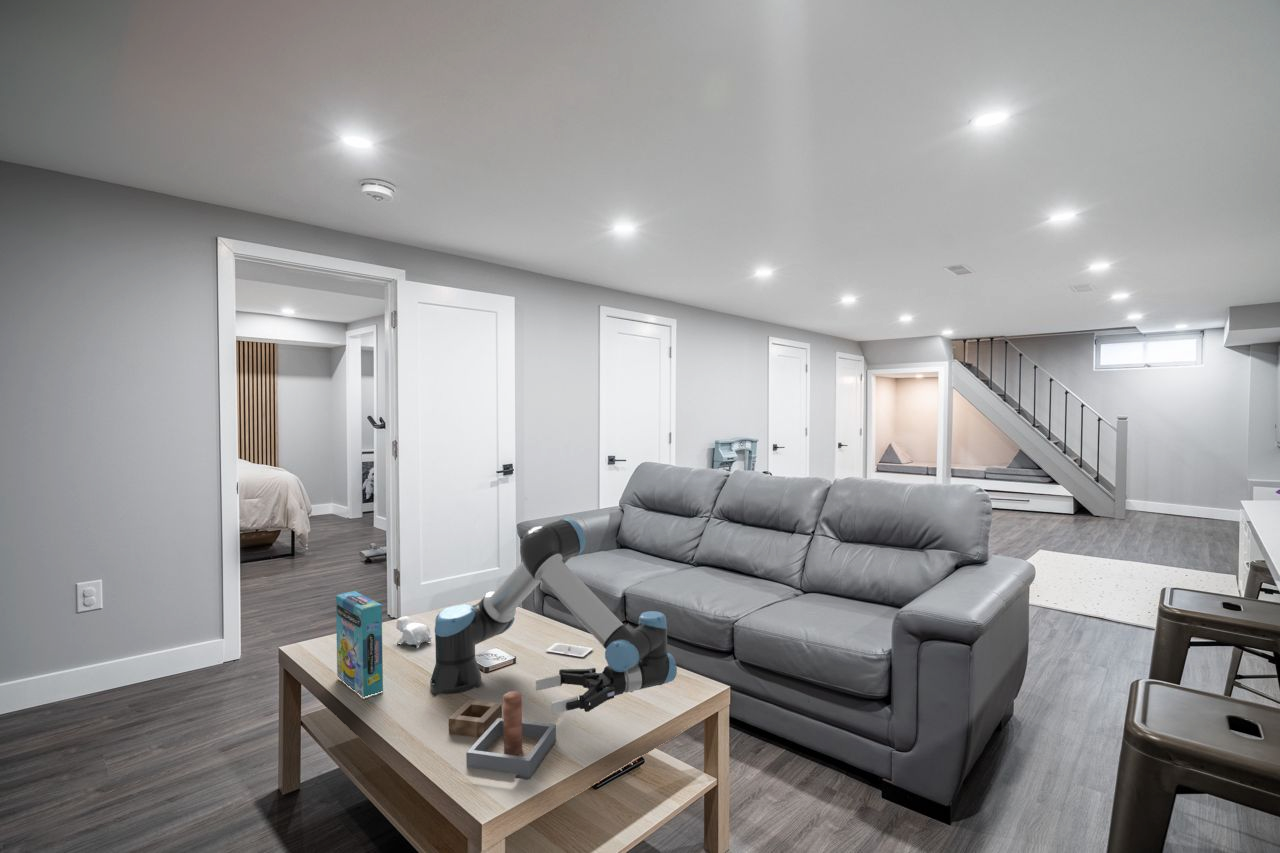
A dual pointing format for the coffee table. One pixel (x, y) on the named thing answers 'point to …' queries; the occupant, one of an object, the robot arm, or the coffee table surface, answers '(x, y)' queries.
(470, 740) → the coffee table surface
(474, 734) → the socket block
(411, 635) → the white animal figurine
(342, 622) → the game box
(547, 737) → the tray
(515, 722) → the dowel
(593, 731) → the coffee table surface
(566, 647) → the touchpad
